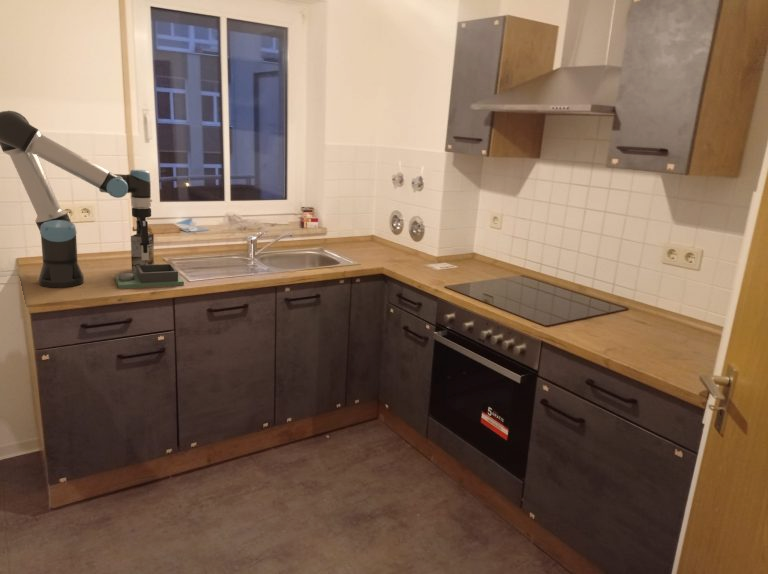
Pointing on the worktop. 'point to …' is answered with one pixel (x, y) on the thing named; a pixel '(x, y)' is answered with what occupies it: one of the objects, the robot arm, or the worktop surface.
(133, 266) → the coffee box
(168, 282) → the deck
